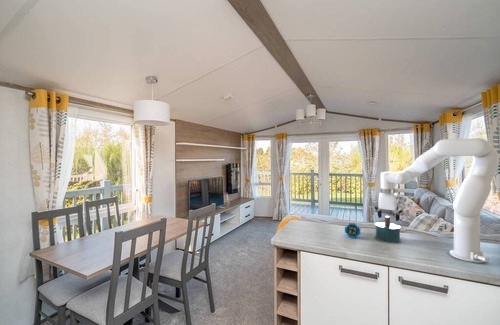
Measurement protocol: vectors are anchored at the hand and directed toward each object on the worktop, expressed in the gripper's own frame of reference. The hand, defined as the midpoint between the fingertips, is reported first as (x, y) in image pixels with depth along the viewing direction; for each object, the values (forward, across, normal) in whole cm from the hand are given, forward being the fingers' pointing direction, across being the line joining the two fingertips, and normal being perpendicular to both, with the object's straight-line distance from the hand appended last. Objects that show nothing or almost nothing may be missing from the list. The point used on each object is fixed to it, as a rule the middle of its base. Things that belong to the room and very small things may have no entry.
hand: (388, 219), depth 135 cm
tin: (+13, +1, 0) cm, 13 cm away
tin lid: (+5, +1, 0) cm, 5 cm away
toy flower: (+13, +19, +9) cm, 25 cm away
